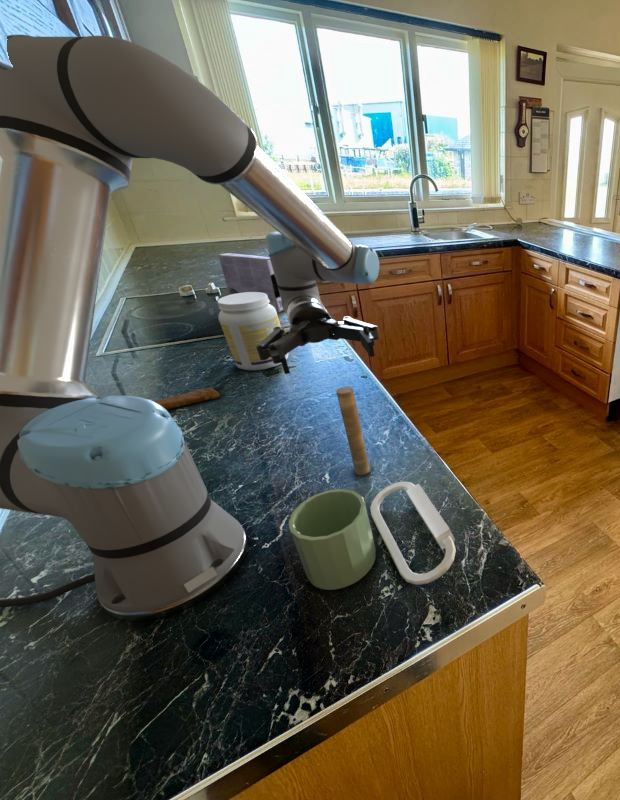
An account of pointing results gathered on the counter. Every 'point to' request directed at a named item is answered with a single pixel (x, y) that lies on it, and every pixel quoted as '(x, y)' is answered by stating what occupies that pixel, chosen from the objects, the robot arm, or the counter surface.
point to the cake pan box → (251, 276)
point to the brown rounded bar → (188, 398)
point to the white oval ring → (433, 524)
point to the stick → (353, 429)
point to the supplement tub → (247, 327)
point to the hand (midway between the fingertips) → (330, 357)
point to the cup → (333, 538)
